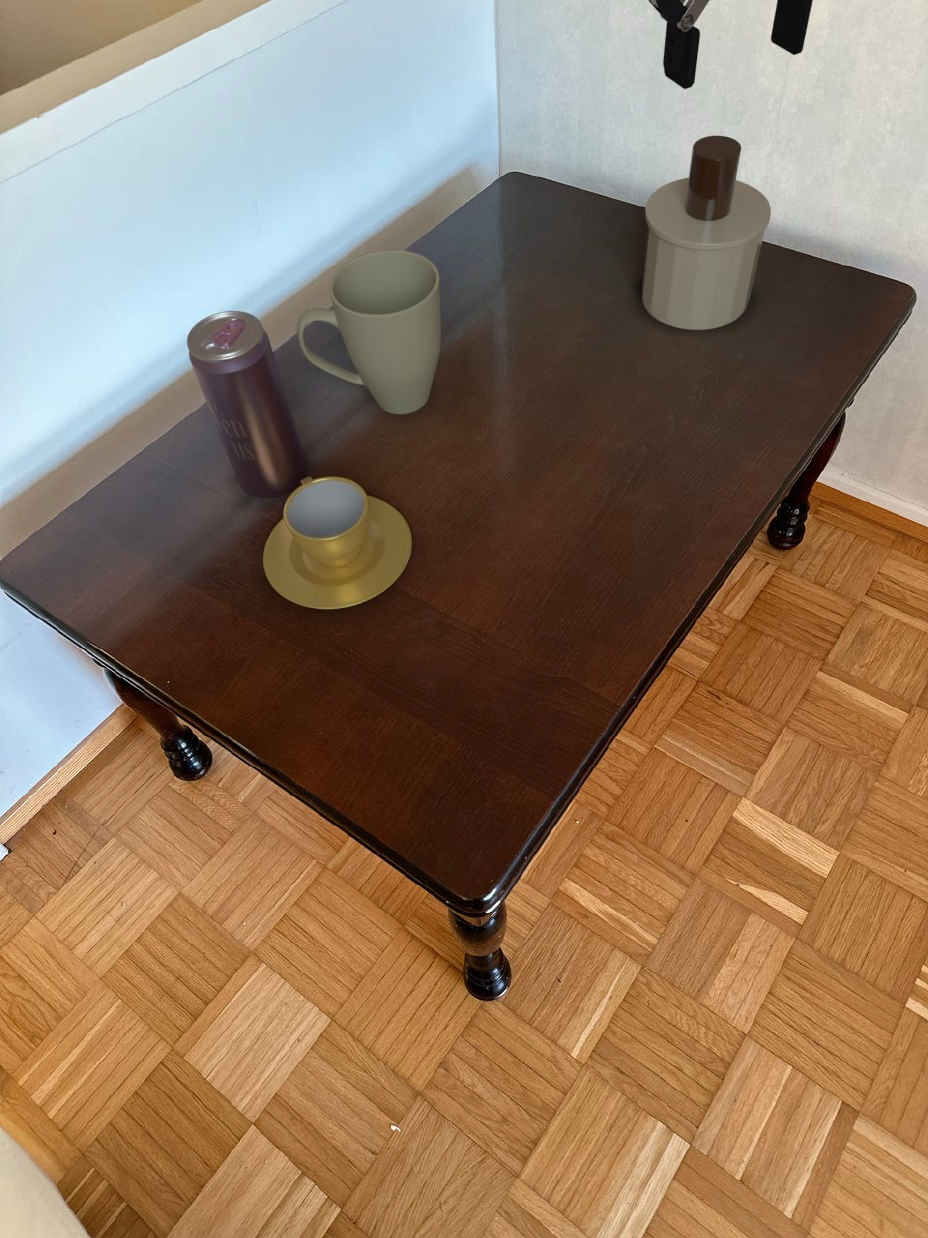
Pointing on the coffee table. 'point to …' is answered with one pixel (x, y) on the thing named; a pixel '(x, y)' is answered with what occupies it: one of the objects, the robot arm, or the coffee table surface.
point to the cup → (335, 545)
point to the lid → (709, 201)
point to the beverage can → (248, 403)
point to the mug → (385, 326)
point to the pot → (697, 283)
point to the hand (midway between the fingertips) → (732, 64)
